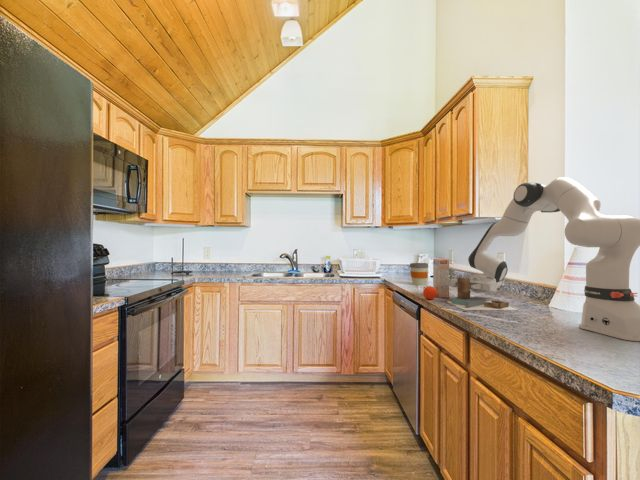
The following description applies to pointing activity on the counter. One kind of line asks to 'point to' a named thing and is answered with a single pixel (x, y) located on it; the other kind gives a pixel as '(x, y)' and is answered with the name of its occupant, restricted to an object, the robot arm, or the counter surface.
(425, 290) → the clementine
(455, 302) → the index socket
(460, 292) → the stop bar
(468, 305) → the jamb board
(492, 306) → the keeper
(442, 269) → the cracker box
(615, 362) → the counter surface
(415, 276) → the reusable coffee cup
